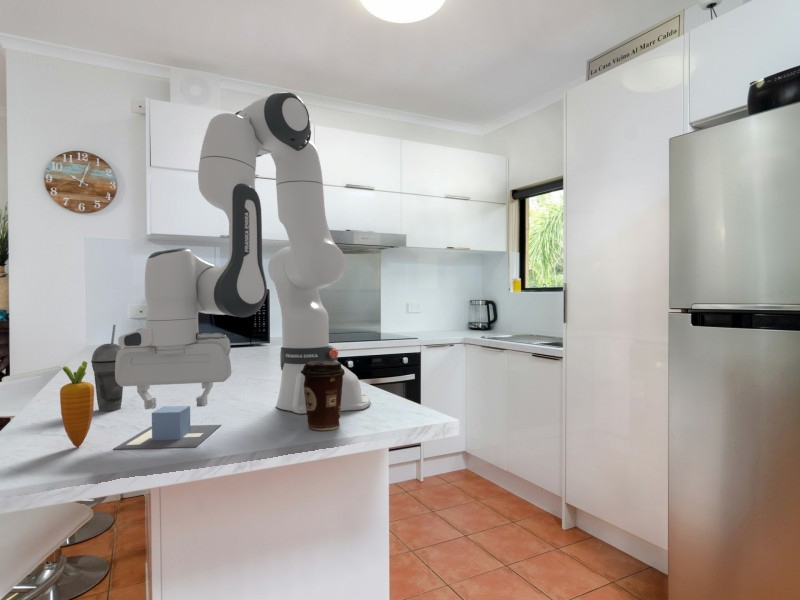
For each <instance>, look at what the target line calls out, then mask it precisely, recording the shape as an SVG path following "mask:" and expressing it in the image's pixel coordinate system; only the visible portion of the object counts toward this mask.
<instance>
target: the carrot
mask: <svg viewBox="0 0 800 600" xmlns="http://www.w3.org/2000/svg"><path fill="white" fill-rule="evenodd" d="M87 366H88V361H86V360H84V361H82V363H81V365H79V367H78V368H77V370H76V371H74V372H72V370H71V369H70V368H69V367H68V366H66V365H64V366H63V367H62V369H61V370H63V372H64V373H65V374H66V375H67V377H68V379H69V380H70V382H68V383H67V384H64V385H62V387H61V388H60V391H59V400H60V413H61V418H62V419H61V420H62V424H63V426H64V430H65V433H66V435H67V437H68V439H69V441H70V442H71V443H72V445H73V447H76V448H79V447H81V446H82V444H83V443H84V441H85V439H86V437H87V436H88V434H89V430H90V428H91V425H92V419H93V414H94V403H95V387H94V384H92V383H90V382H87V381H83V379H84V377H85V375H86V373H87V372H86V371H87V370H86V369H87Z"/></svg>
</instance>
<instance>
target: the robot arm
mask: <svg viewBox="0 0 800 600" xmlns="http://www.w3.org/2000/svg"><path fill="white" fill-rule="evenodd" d="M311 126H312V125H311V119H310V114H309V110H308V108H307V106H306V105H305V103H304V101H302V99H301V98H300V96H298V95H296V94H295V93H292V92H289V91H288V92H287V91H286V92H285V91H281V92H276V93H272V94H270V95H269V96H267V97H263V98H261V99H258V100H256V101H253V102H252V103H250V105H248V106H246V107H244V108H243V109H242V110H239V111H237V112H235V113H227V112H226V113H225V112H224V113H220V114H217V115H215V116H213V117H212V118H211V119H210V121H209V123H208V125H207V128H206V130H205V131H206V132H205V135H204V137H203V141H202V145H201V150H200V155H199V164H198V170H197V180H198V184H197V185H198V190H199V192H200V194H201V196H202V197H203V198H204V200H205V201H207V202H208V204H210V205H212V206H213V207H215V208H216V209H219V210H221V211H223V212H224V213H225V215H226V217H227V220H228V259H227V261H226V263H225V264H224V266H215V264H212V263H209V262H207V261H205V260H203V259H201V258H200V257H198V256H197V255H196V254H195V253H194V252H193V251H192V250H191V249H190V248H186V247H181V248H173V249H167V250H160V251H155V252H153V253H151V254H150V255H149V256H148V258H147V259H146V263H145V269H144V270H145V271H144V298H145V301H146V303H147V314H146V317H145V323H146V324H145V327H142V328H139V329H136V330H133V331H132V332H128V333H124V334H123V335H122V334H121V335H120V336H119V337H118V339H117V342H118V344H117V345H119V346H120V347H121V348H122V349H120V350H119V351H118V353H117V356H116V362H115V380H116V382H117V383H118V384H119V386H121V387H123V388H124V387H136V389H137V394H138V395H139V396H140V397H141V399H142V400H143V402H144V403H143V404H144V405H143V406H144V410H154V409H155V408H157V398H156V397H152V395H151V394H150V392H149V391H148V390H150V389H151V386H160V385H161V386H162V385H183V384H201V389H202V390H203V389H204V390H203V392H202V394H201V395H198V396H196V398H195V399H196V407H200V408H201V407H206V406H207V405H208V396H209V394H210V392H211V390H212V388H213V386H214V383H224V382H226V381H227V380H228V379H229V378H230V377H231V376H232V373H233V371H232V363H231V359H230V352H231V341H230V338H229V337H228V336H227V335H226V334H223V333H222V332H214V333H206V332H203V333H201V332H200V333H199V313H202V314H207V315H209V314H210V315H222V316H224V315H227V316H230V317H231V316H233V317H236V318H238V317H239V318H248V317H251V316H253V315H254V314H256V313H257V312H258V311H259V310H260V309H261V308H262V306H263V305H264V303H265V300H266V298H267V294H268V293H267V292H268V287H267V286H268V285H267V280H266V275H265V271H264V265H263V264H264V263H263V232H262V231H263V230H262V229H263V226H262V225H263V224H262V222H263V221H262V219H263V218H262V204H261V199H260V195H259V193H258V192H257V190H256V185H255V184H256V180H255V179H256V170H257V169H256V168H257V158H258V157H262V156H264V155H268V154H269V155H270V156H271V158H272V160H273V162H274V165H275V185H276V187H275V188H276V203H277V205H276V206H277V218H278V220H279V222H280V223H281V224H282V225H283V227H284V229H285V232H286V234H287V237H288V240H289V246H285V247H282V248H281V249H279V250H278V251H277V252H275V253H274V254H273V255H271V257H270V259H269V261H268V264H267V271H268V275H269V277H270V279H271V280H272V282H273V285H274V287H275V290H276V294H277V297H278V302H279V306H280V313H281V325H282V326H281V327H282V328H281V329H282V330H281V331H282V333H281V334H282V340H281V341H282V346H281V347H280V352H279V360H280V361H279V362H280V371H281V379H280V380H281V381H280V387H279V393H278V398H277V401H276V404H275V406H276V408H277V409H280V410H285V411H289V412H292V413H295V414H299V415H300V414H307V412H306V405H305V395H304V381H305V376H304V375H303V374H302V373H301V371H302V370H303V368H304V365H306V363H307V362H310V361H330V362H339V361H338V356H339V351H338V349H337V348H336V347H333V346H332V345H330V337H329V336H330V335H329V334H330V333H329V332H330V328H329V325H330V324H329V323H330V322H329V313H328V311H327V309H326V307H325V306H324V305H323V303H322V300H321V297H320V293H319V289H324V288H328V287H329V286H332V285H334V284H336V283H338V282H339V281H340V280H341V279H342V278H343V276H344V274H345V272H346V267H347V265H346V264H347V262H346V258H345V255H344V252H343V251H342V250H341V249H340V247H338V245H336V243H335V242H334V239H333V237H332V234H331V232H330V228H329V225H328V221H327V217H326V209H325V193H324V181H323V174H322V173H323V172H322V167H321V165H322V164H321V160H320V157H319V152H318V150H317V147H316V146H315V144H314V143H313V142H312V141H310V140H311V136H312V131H311ZM341 367H342V368H343V369H344V372H345V374H344V375H343V385H342V396H341V412H343V411H356V410H358V411H359V410H364V409H366V408H368V407H369V406H370V404H371V398H370V396H369V395H367V394H365V393H362V388H361V383H360V380H359V378H358V376H357V375H356V374H355V373H353V372H352V371H351V370H350V369H348V368H347V367H346V366H344V365H343V364H342V363H341Z"/></svg>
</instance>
